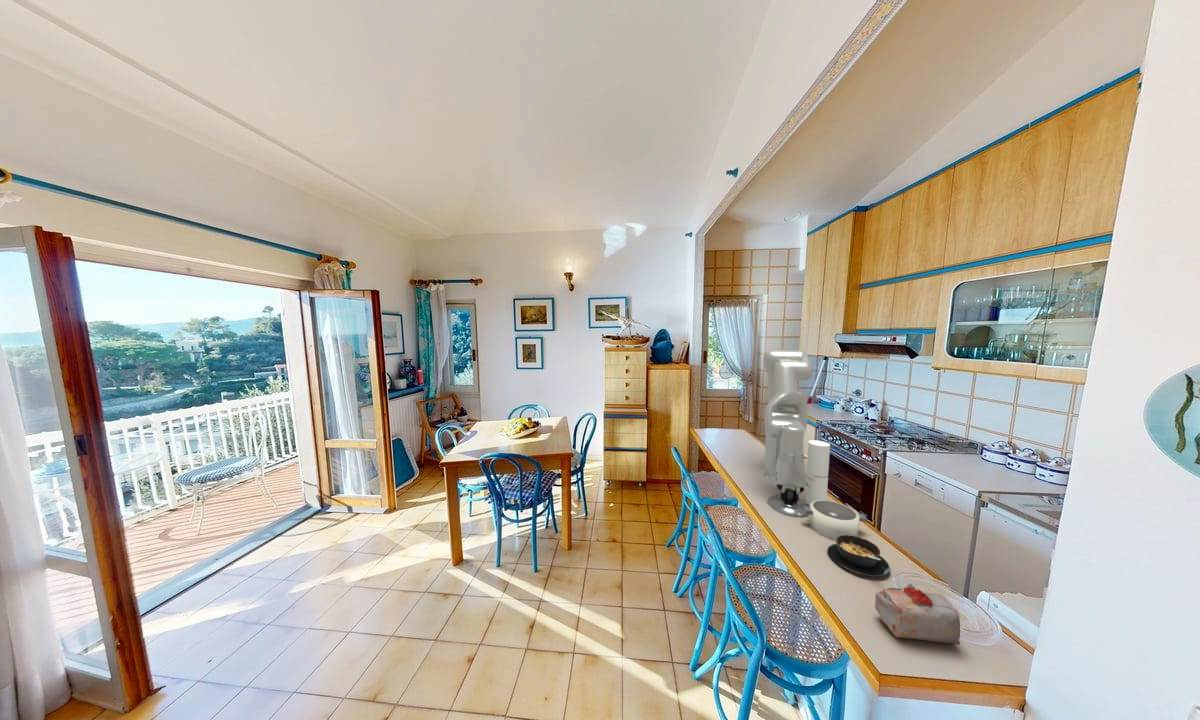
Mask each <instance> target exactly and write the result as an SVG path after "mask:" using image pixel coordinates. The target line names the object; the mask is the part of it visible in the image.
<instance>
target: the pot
mask: <svg viewBox="0 0 1200 720" xmlns="http://www.w3.org/2000/svg"><path fill="white" fill-rule="evenodd" d="M809 506H810V507H805V506H803V511H804V513H805V514H810V516H809V520H808V521H809V525H810V528H811V529H812V530H814V531H815V532H816V533H818V535H819V534H820V535H821V536H824V537H826V538H828V539H830V540H834V541H836V539H837V537H839V536H840V535H841V536H842V535H851V536H856V537H859V527H860V522H863V523H867V522H868V518H867V516H866V515H865V514H863V513H858V512H857V511H856V510H854V509H853V508H851V507H850V506H848V505H845V504H843V503H840V502H836V501H833V500H815V501H812V502H811V504H809Z"/></svg>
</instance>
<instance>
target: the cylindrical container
mask: <svg viewBox="0 0 1200 720" xmlns="http://www.w3.org/2000/svg"><path fill="white" fill-rule="evenodd" d="M807 442H808V447H807V459H806V460H807V462H806V463H807V465H806V481H807V483H808V485H809V487H810V488H809V489H806V490H805V496H804V497H805V499H804V500H805V501H804V502H806V503H807V504H808V505H810V504H811V502H812V501H815V500H827V499H828V483H829V469H830V467H829V466H830V451H831V444H830V443H828V442H826V441H822V440H817V439H816V440H815V439H813V440H812V439H811V440H808V441H807Z"/></svg>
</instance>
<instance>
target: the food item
mask: <svg viewBox="0 0 1200 720" xmlns="http://www.w3.org/2000/svg"><path fill="white" fill-rule="evenodd" d="M874 599H875V604H874V608H875V610H876V612H877V613H878V615H879V617H880V619H881V620H882V622H883V623H884V624H886V626H887V627H888V629H889V630H890V631H891V633H892V634H893V635H894V637H896V638H897V639H907V640H908V639H909V640H910V639H911V640H920V641H928V642H934V643H945V644H952V645H960V644H961V641H960V638H961V629H960V628H961V620H960V619H961V618H960V612H959V611H958V610H957V608H954V606H953V605H952V603H951V602H950V601H949V600H947V599H946V597H944V596H943V595H942V594H937V593H930V592H929V593H928V592H923V591H922V590H920V589H916V587H914V586H913V584H912V583H908V584H907V585H906V587H903V588H900V587H887V588H882V589H881V590H880V591H876V592H875V598H874Z"/></svg>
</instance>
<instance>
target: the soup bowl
mask: <svg viewBox="0 0 1200 720" xmlns="http://www.w3.org/2000/svg"><path fill="white" fill-rule="evenodd" d="M826 552H827V553H828V556H829V557H830V558H831V560H832V561H834V562H835V563H836V564H838V565H839V566H841V567H842V568H844V569H846V570H849V571H851V572H853V573H856V574H860V575H863V576H868V577H872V578H873V577H882V576H884V575H885V576H887V575H888V574H890V572H891V568H890V564H889V562H887V560H886V559H885V558H884V557H883V556H882V555H881V549H880V548H879V547H878V545H876V544H875V543H873V542H872V541H870V540H868V539H865V538H862V537H859V536H858V537H856V536H851V535H842V536H841V535H840V536H839V537H837V539H836V540H835V543H833V544H830V545H829V546H827V549H826Z"/></svg>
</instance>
